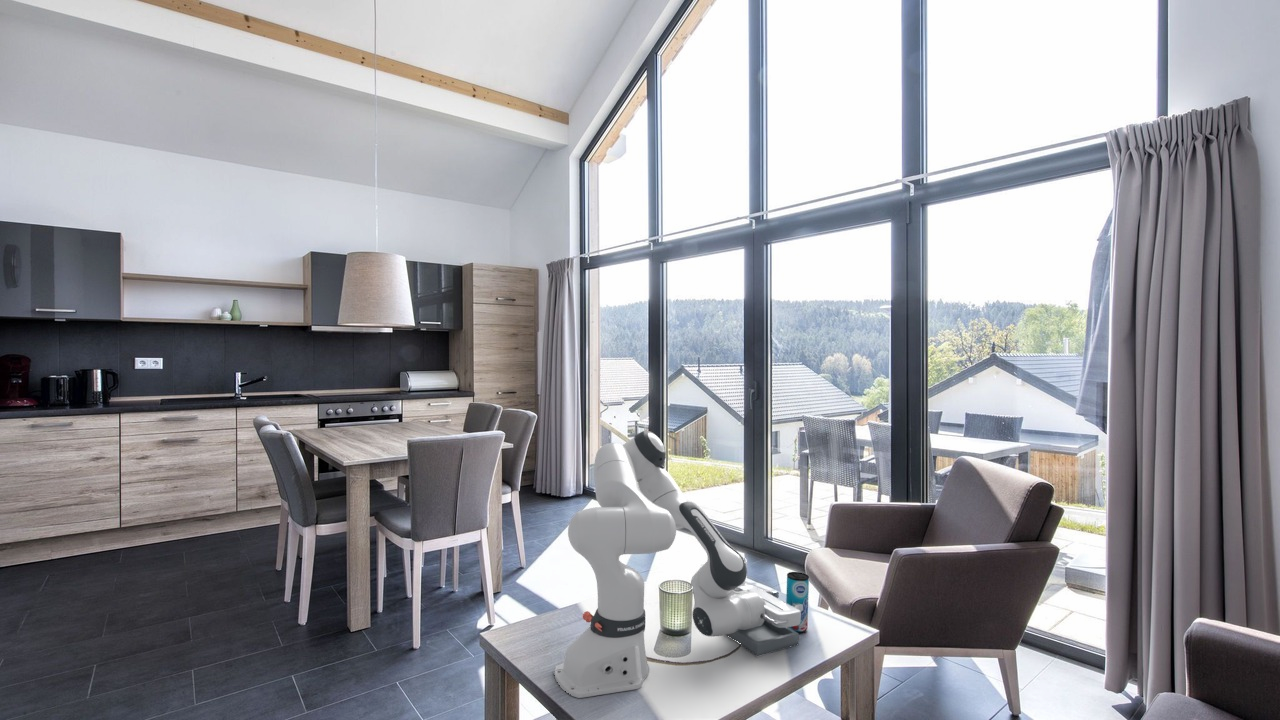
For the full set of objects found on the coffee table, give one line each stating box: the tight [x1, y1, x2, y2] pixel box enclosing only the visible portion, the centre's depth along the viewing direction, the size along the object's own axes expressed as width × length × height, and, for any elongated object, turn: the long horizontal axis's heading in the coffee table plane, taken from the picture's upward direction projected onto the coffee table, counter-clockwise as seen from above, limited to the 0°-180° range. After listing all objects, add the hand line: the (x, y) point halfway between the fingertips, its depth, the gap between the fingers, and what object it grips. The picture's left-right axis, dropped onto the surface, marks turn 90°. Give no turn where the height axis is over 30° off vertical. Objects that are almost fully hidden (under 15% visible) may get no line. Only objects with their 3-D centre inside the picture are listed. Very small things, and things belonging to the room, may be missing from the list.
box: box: [727, 620, 800, 657], centre depth 163 cm, size 14×14×3 cm
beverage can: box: [785, 571, 810, 634], centre depth 170 cm, size 6×6×15 cm
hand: (788, 600), depth 168 cm, fingers open, 8 cm apart
